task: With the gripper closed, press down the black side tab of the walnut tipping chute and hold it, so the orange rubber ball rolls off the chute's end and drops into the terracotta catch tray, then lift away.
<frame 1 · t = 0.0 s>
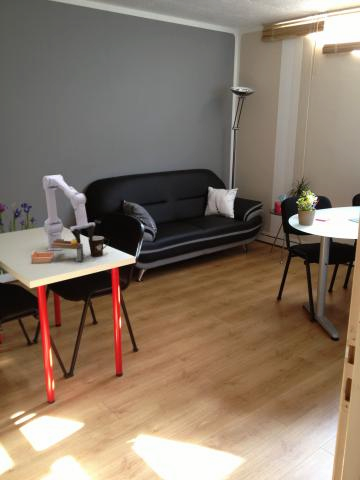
hand: (85, 241, 236), 11 cm above the table, tool pointing down, fingers open, 7 cm apart
catch tray: (43, 260, 238), on the table
coffee mug: (99, 255, 247), on the table
pivot stand: (80, 258, 241), on the table
ball: (74, 242, 238), point 10 cm above the table, tilted 9°, touching tipping chute
tipping chute: (67, 242, 241), point 9 cm above the table, hinge at -5.0°, touching ball
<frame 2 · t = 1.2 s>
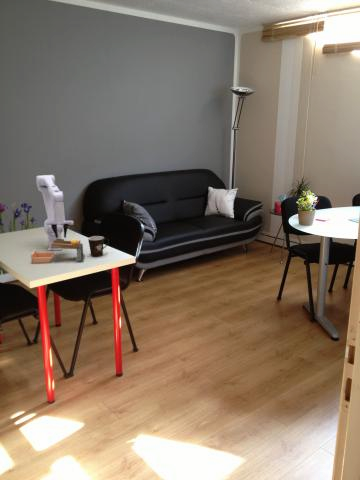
hand: (61, 237, 244), 10 cm above the table, tool pointing down, fingers open, 4 cm apart
nothing on the table moved.
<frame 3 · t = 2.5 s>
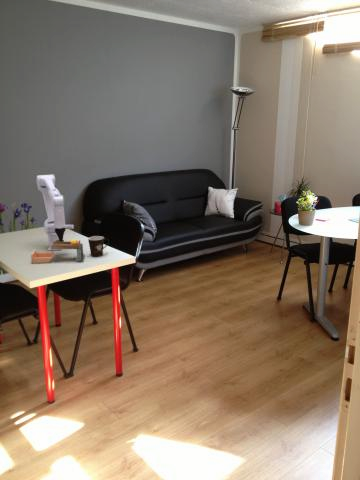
hand: (61, 241, 245), 8 cm above the table, tool pointing down, fingers closed, pressing on tipping chute
tipping chute: (67, 243, 241), point 8 cm above the table, hinge at -2.1°, touching ball, gripper
everything else where it was.
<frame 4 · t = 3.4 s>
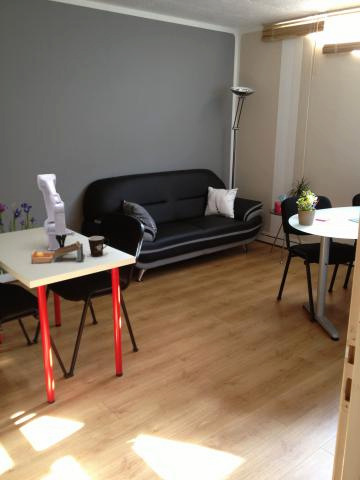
hand: (62, 248, 246), 4 cm above the table, tool pointing down, fingers closed, pressing on tipping chute
ball: (39, 255, 238), point 3 cm above the table, tilted 103°, touching catch tray
tipping chute: (67, 247, 242), point 6 cm above the table, hinge at 17.9°, touching gripper
everything else where it was.
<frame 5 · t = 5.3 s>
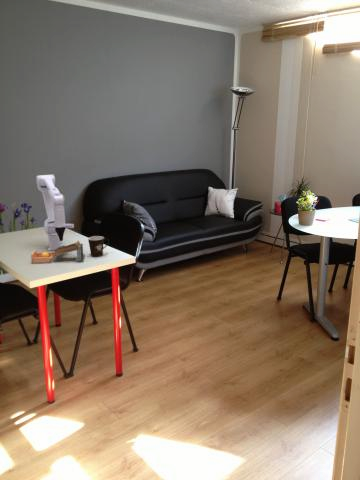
hand: (61, 240, 245), 9 cm above the table, tool pointing down, fingers closed
ball: (45, 255, 238), point 3 cm above the table, tilted 176°, touching catch tray
tipping chute: (67, 246, 242), point 6 cm above the table, hinge at 15.8°
everything else where it was.
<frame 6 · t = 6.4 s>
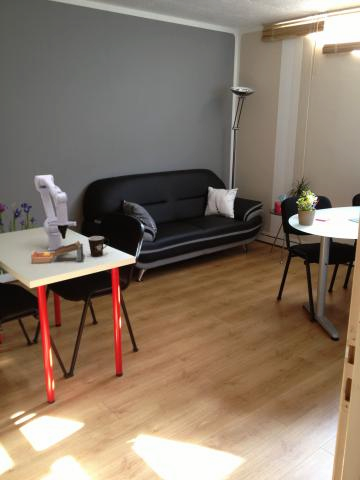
hand: (63, 238, 246), 10 cm above the table, tool pointing down, fingers closed
ball: (46, 255, 238), point 3 cm above the table, tilted 151°, touching catch tray
everything else where it was.
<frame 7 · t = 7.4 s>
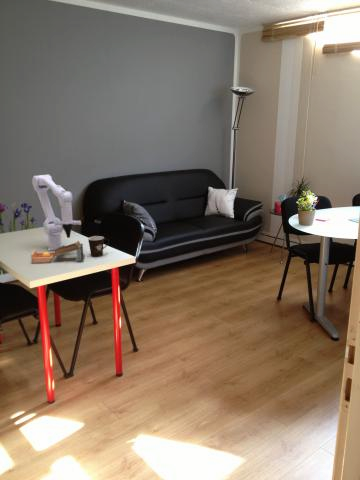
hand: (68, 237, 247), 10 cm above the table, tool pointing down, fingers closed
ball: (46, 255, 238), point 3 cm above the table, tilted 159°, touching catch tray
everything else where it was.
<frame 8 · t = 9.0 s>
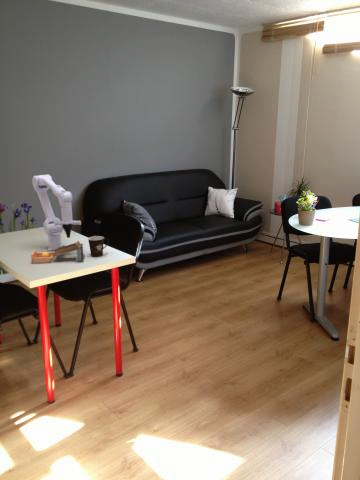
hand: (68, 237, 247), 10 cm above the table, tool pointing down, fingers closed
ball: (45, 255, 238), point 3 cm above the table, tilted 174°, touching catch tray
everything else where it was.
at the end: ball inside the target area on the catch tray (1.3 cm from its centre), point 2.6 cm above the catch tray's base; tipping chute at +16° (first picture: -5°) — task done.
